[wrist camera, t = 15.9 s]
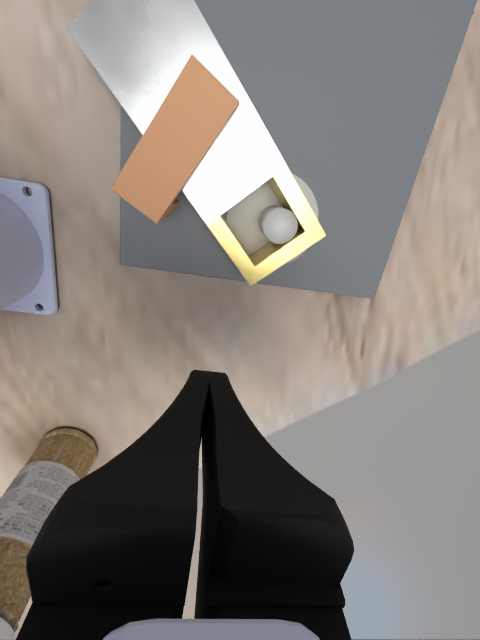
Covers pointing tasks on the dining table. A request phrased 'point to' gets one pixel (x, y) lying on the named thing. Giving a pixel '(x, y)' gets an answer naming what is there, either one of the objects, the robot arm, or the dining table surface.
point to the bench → (318, 134)
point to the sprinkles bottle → (35, 512)
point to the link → (234, 140)
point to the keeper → (175, 141)
